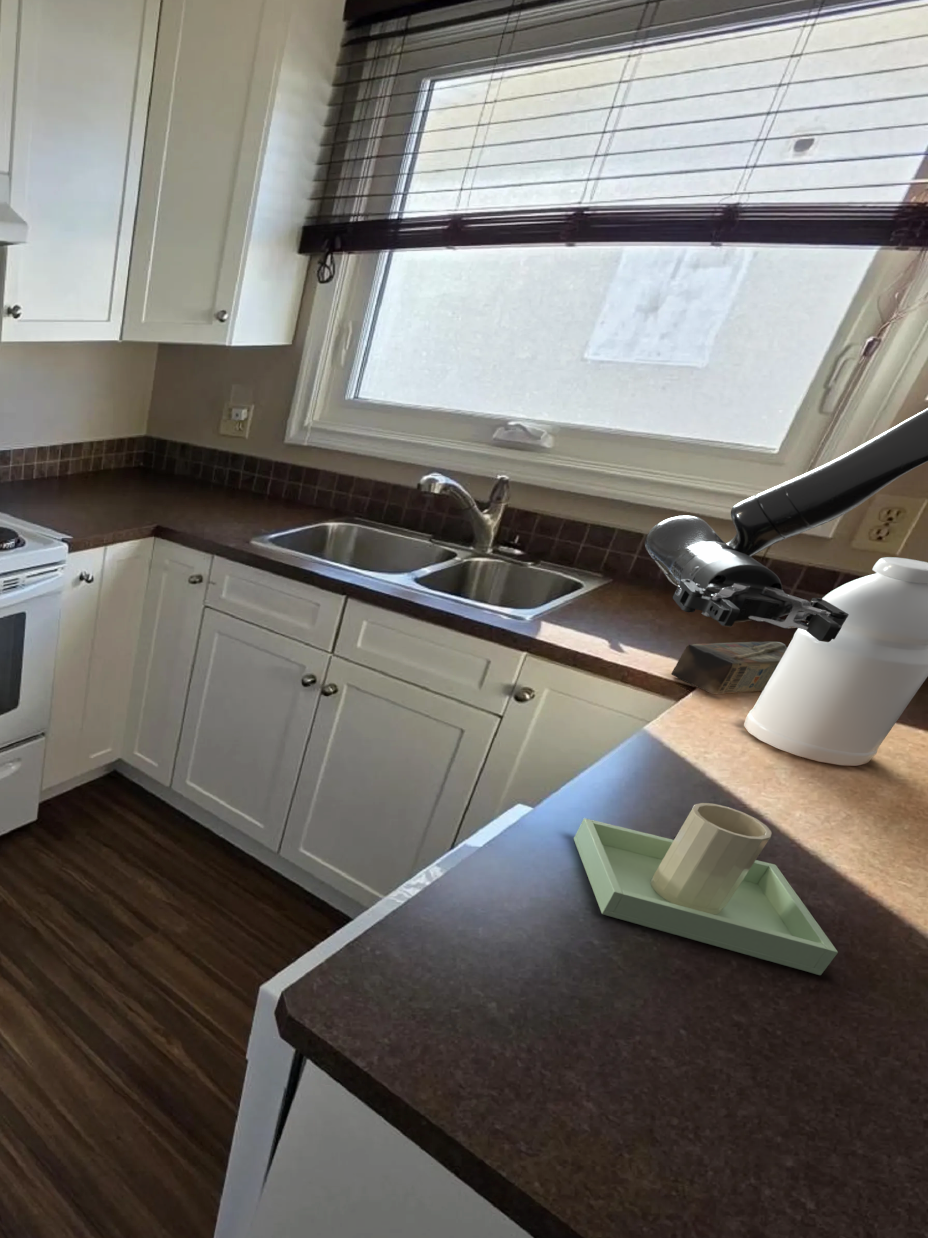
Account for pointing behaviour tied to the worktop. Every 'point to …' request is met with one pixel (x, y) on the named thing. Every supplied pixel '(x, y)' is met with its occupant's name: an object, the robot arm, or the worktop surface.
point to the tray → (749, 924)
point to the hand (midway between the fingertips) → (780, 626)
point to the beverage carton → (729, 665)
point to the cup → (709, 857)
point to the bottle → (851, 670)
